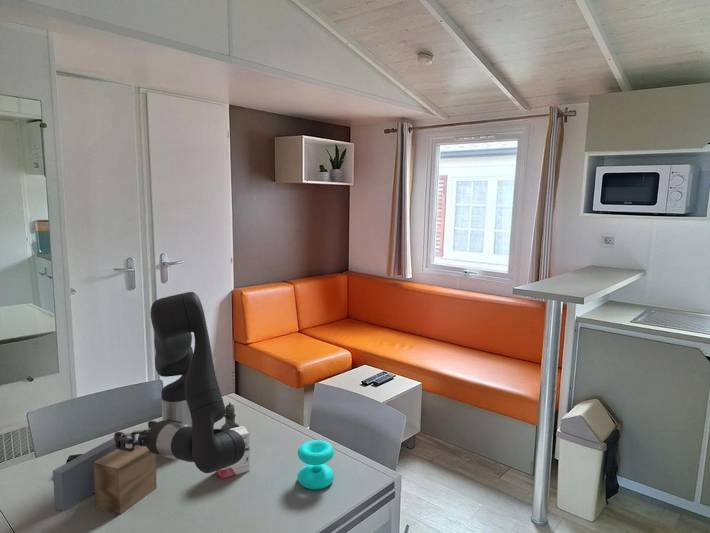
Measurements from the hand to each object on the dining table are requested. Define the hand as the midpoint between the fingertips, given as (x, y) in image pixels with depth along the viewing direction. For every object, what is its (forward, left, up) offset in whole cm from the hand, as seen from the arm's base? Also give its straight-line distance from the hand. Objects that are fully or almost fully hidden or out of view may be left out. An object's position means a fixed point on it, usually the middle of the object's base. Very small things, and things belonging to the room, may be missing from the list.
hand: (133, 430), depth 116 cm
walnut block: (+2, -5, -20) cm, 21 cm away
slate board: (+10, -13, -20) cm, 26 cm away
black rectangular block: (+16, -25, -21) cm, 36 cm away
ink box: (-25, -6, -20) cm, 33 cm away
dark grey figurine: (-28, -27, -20) cm, 44 cm away
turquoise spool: (-45, +8, -20) cm, 50 cm away
